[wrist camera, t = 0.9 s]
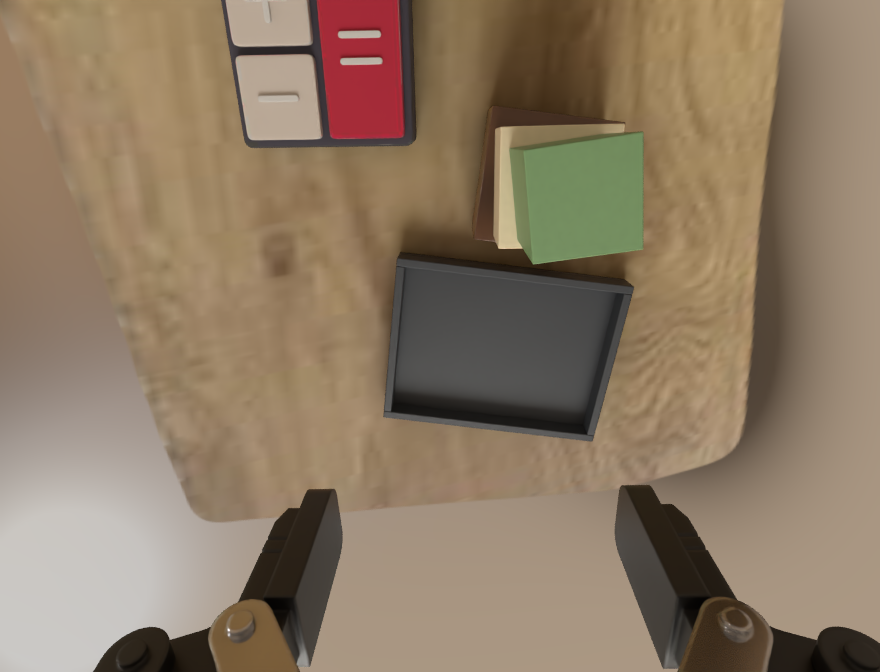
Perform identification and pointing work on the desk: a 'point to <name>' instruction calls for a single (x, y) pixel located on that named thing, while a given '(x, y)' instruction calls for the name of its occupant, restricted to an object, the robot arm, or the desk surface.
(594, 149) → the green block
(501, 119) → the walnut block
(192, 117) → the desk surface
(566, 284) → the tray
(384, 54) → the calculator
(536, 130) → the cream block
